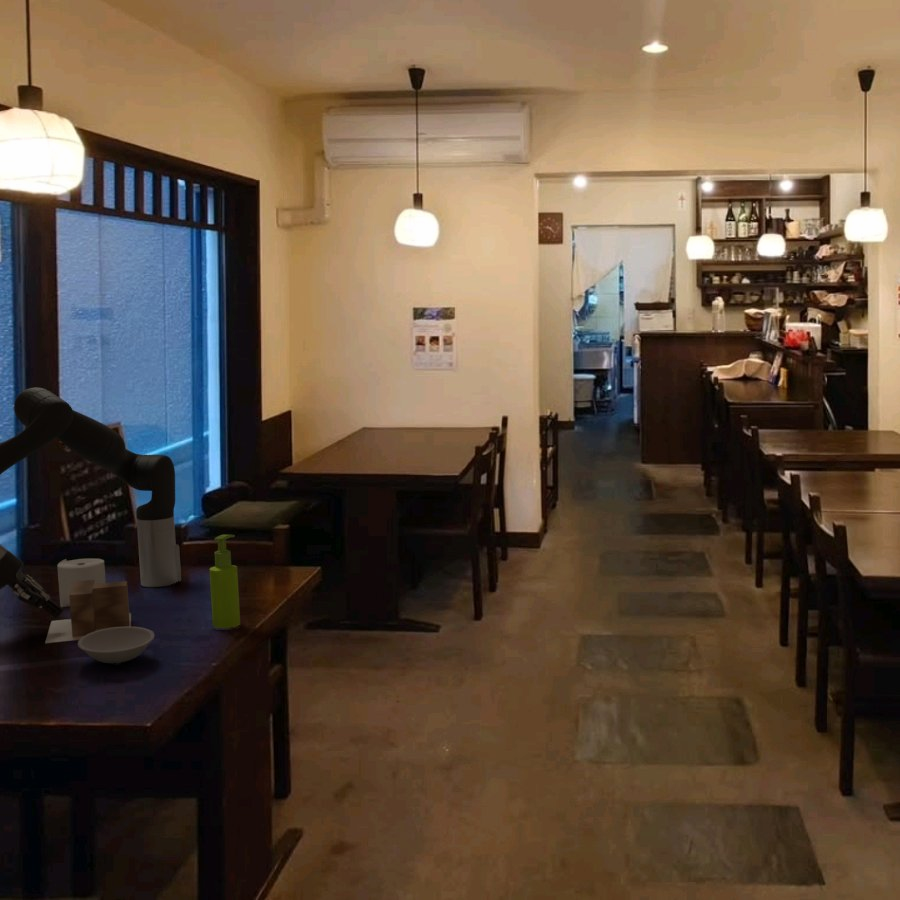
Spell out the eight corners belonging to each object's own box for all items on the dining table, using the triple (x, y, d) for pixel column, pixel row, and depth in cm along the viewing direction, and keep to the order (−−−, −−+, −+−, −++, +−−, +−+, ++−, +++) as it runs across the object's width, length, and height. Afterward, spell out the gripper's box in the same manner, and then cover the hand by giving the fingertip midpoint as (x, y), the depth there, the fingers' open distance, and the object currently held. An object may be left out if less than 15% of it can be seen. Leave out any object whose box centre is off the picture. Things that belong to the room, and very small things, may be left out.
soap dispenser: (247, 622, 238) (242, 533, 236) (231, 631, 232) (226, 539, 229) (224, 620, 240) (219, 532, 238) (207, 629, 234) (202, 538, 231)
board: (45, 647, 224) (44, 643, 223) (52, 625, 241) (51, 620, 241) (193, 632, 232) (193, 627, 232) (190, 611, 249) (189, 607, 249)
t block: (72, 637, 227) (69, 595, 226) (75, 621, 240) (72, 581, 239) (129, 631, 230) (126, 590, 229) (129, 615, 243) (127, 576, 242)
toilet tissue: (92, 610, 253) (89, 568, 252) (46, 609, 255) (42, 567, 254) (115, 598, 263) (112, 558, 262) (70, 597, 266) (67, 557, 264)
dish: (158, 671, 206) (157, 646, 205) (79, 681, 201) (77, 655, 201) (153, 646, 222) (151, 622, 222) (79, 655, 218) (77, 631, 217)
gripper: (-15, 570, 233) (50, 619, 238) (-24, 583, 221) (45, 635, 225) (10, 543, 234) (74, 593, 239) (2, 555, 221) (70, 607, 226)
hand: (59, 613), depth 232 cm, fingers closed
